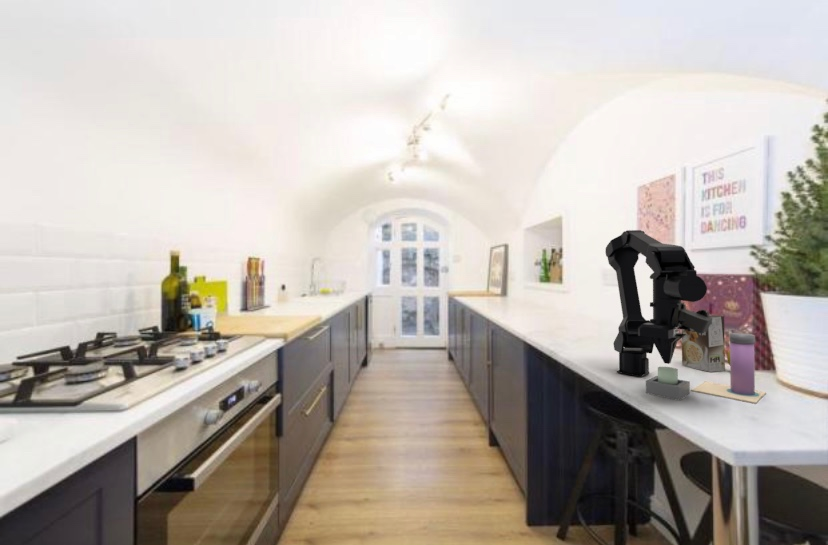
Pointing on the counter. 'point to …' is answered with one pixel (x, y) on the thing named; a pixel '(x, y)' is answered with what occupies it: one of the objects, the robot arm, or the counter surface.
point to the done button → (668, 375)
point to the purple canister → (742, 363)
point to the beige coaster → (727, 392)
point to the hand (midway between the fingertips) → (667, 363)
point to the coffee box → (705, 347)
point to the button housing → (668, 388)
